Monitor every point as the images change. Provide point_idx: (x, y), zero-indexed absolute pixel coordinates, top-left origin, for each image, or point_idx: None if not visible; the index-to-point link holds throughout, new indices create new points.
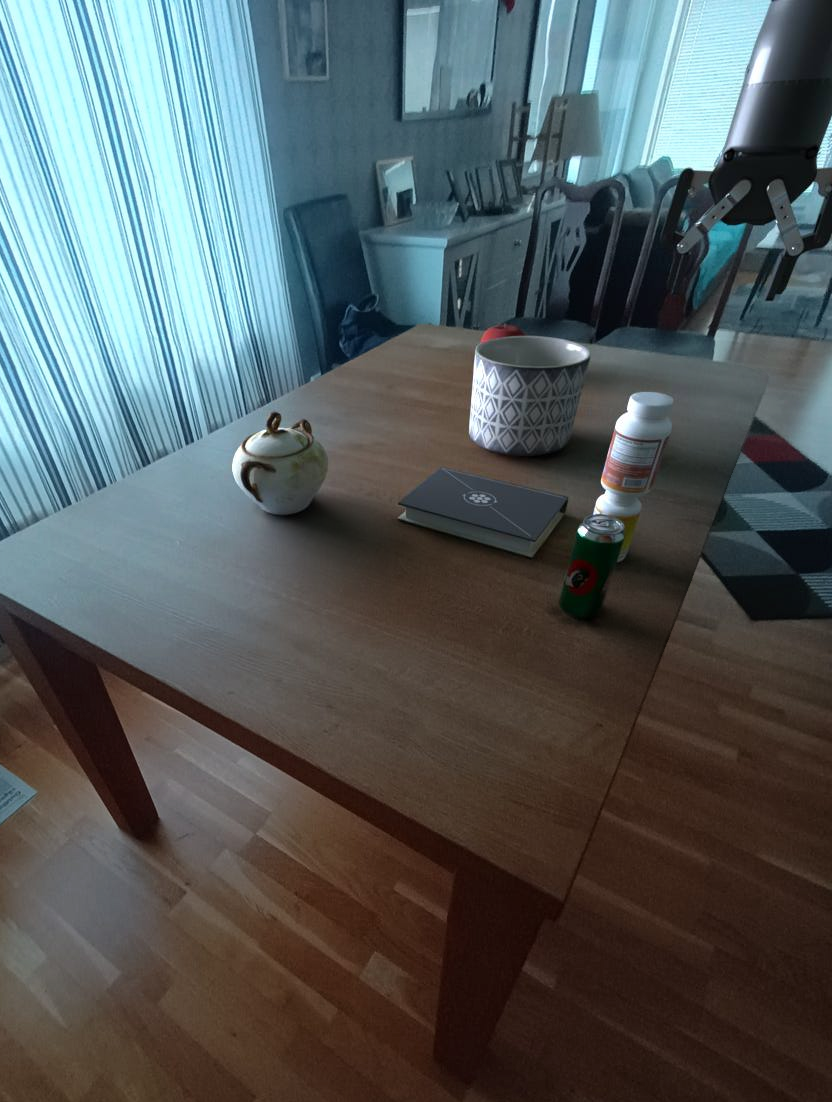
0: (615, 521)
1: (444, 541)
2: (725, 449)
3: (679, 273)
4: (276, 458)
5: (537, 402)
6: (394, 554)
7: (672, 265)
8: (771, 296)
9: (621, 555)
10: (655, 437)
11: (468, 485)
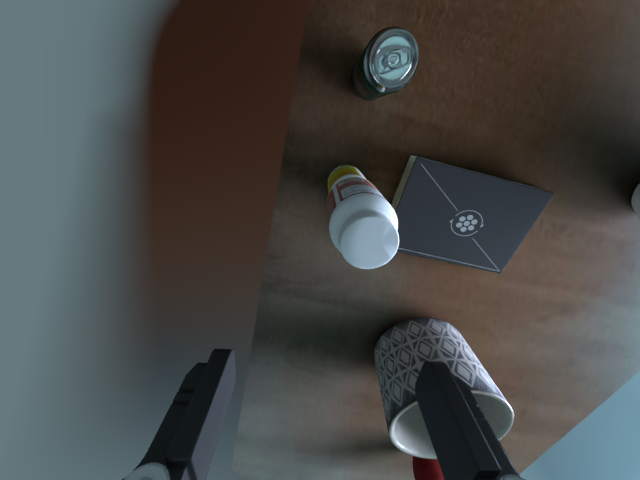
0: (378, 72)
1: (492, 162)
2: (251, 367)
3: (465, 410)
4: None
5: (429, 359)
6: (547, 121)
7: (497, 438)
8: (219, 353)
9: (333, 171)
10: (350, 197)
11: (476, 245)
